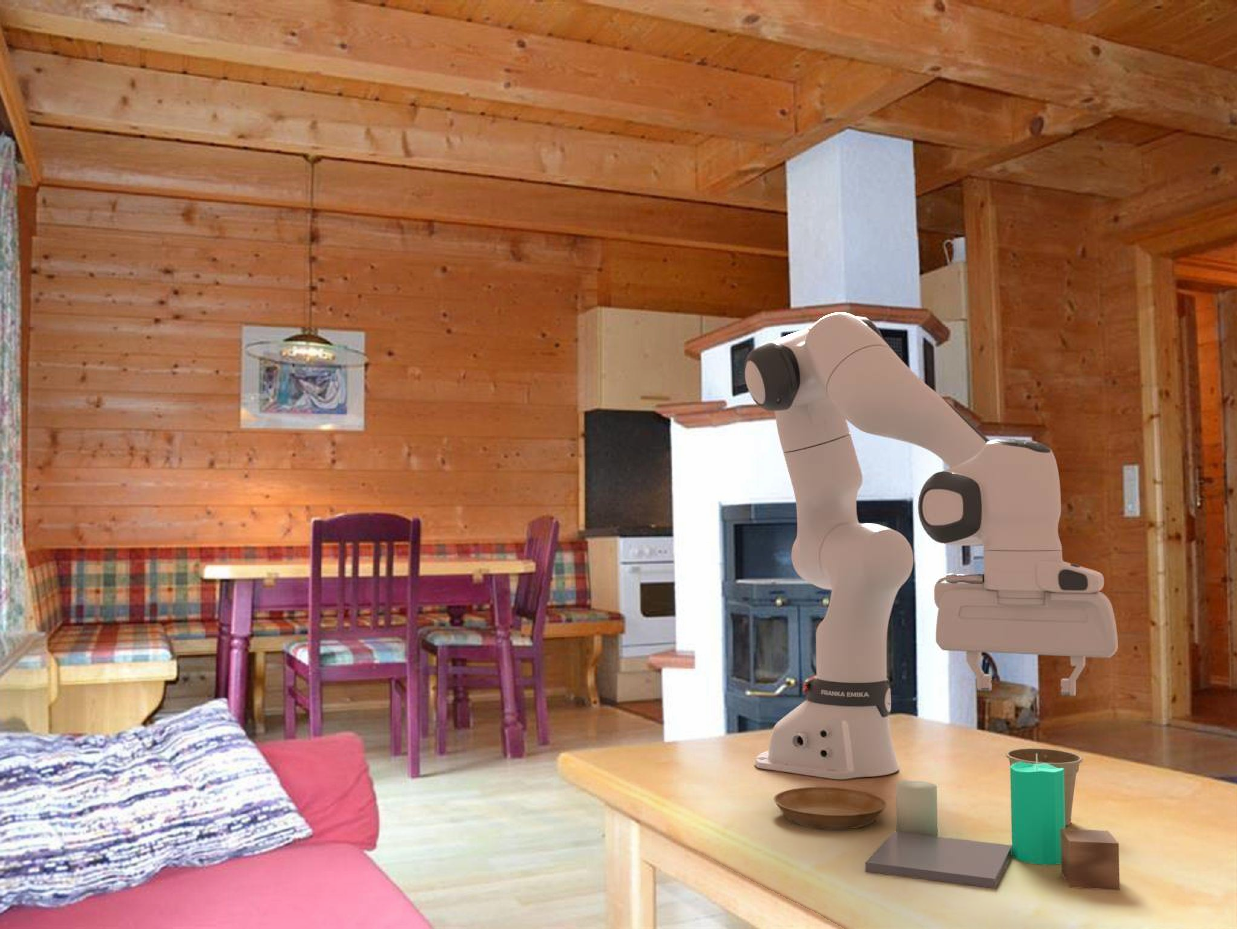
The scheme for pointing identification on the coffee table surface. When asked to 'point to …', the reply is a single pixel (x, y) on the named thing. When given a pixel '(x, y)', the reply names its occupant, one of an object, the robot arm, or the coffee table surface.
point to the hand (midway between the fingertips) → (1025, 692)
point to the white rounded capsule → (916, 808)
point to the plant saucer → (830, 807)
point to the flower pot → (1057, 760)
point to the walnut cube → (1090, 859)
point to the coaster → (941, 859)
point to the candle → (1037, 812)
